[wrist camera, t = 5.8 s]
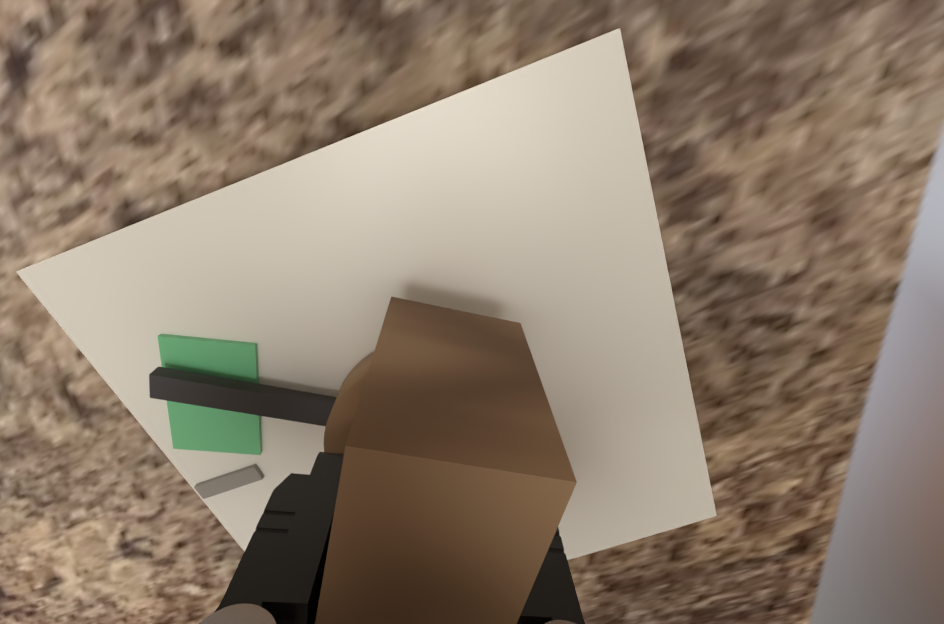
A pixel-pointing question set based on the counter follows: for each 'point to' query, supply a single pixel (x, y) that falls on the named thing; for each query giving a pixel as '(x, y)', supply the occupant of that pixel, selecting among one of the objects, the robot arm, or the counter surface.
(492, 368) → the wing knob
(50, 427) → the counter surface
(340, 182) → the dial plate
